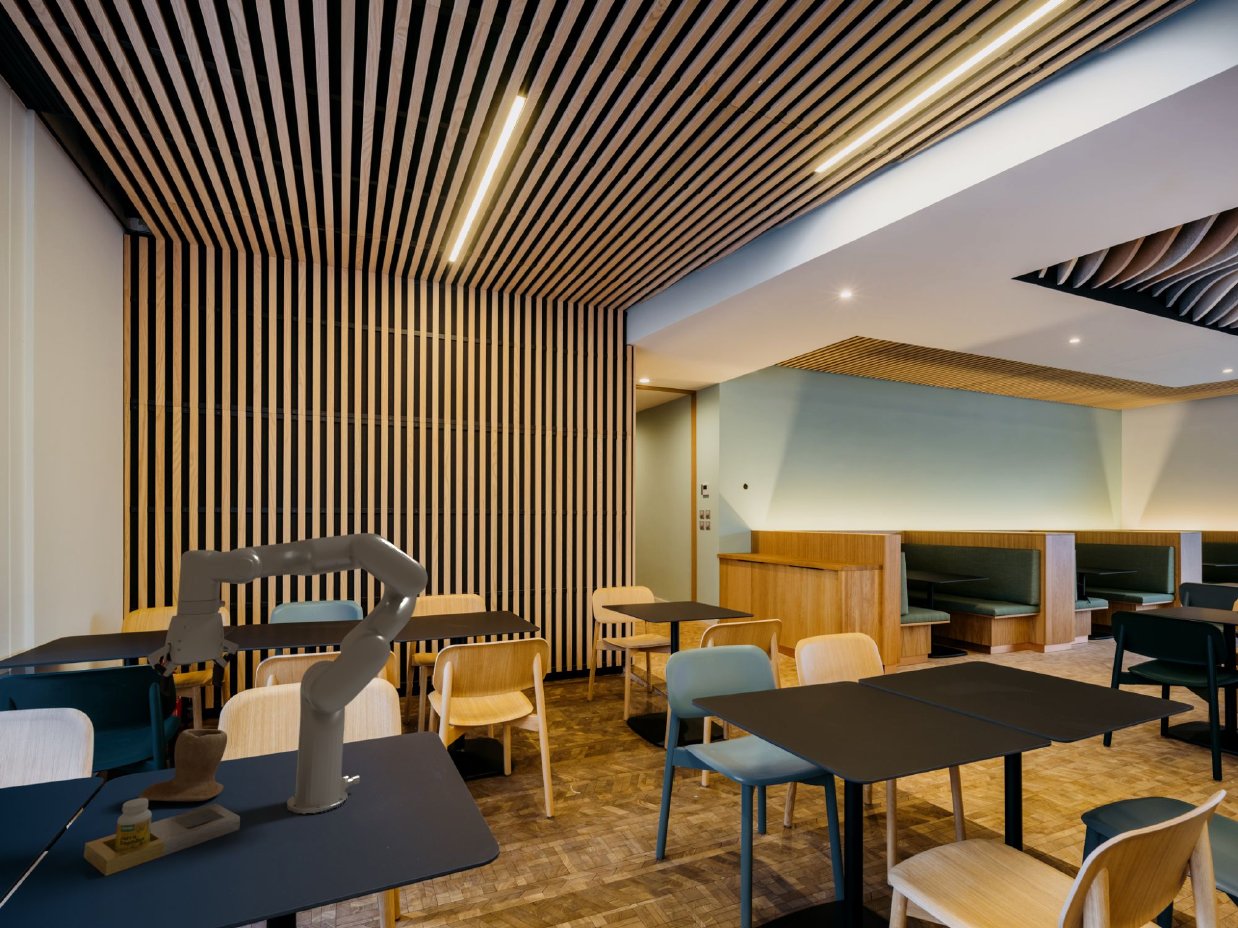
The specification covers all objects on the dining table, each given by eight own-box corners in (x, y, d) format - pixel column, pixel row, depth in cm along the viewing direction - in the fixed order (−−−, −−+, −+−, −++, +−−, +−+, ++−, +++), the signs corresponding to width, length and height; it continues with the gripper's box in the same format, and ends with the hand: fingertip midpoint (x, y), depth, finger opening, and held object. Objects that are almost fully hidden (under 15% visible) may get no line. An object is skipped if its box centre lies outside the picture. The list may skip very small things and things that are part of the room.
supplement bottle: (149, 844, 130) (153, 794, 131) (148, 856, 125) (152, 803, 126) (115, 851, 127) (119, 799, 128) (113, 863, 122) (117, 809, 123)
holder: (214, 815, 143) (215, 803, 143) (239, 829, 137) (240, 816, 137) (84, 857, 124) (85, 842, 125) (105, 875, 118) (107, 860, 118)
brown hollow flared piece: (235, 787, 159) (239, 723, 160) (204, 808, 147) (209, 738, 148) (172, 786, 159) (177, 722, 160) (136, 807, 147) (142, 737, 148)
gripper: (231, 603, 150) (226, 680, 149) (144, 610, 136) (137, 695, 134) (248, 605, 146) (243, 684, 144) (159, 613, 132) (153, 701, 130)
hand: (192, 690), depth 139 cm, fingers open, 9 cm apart
